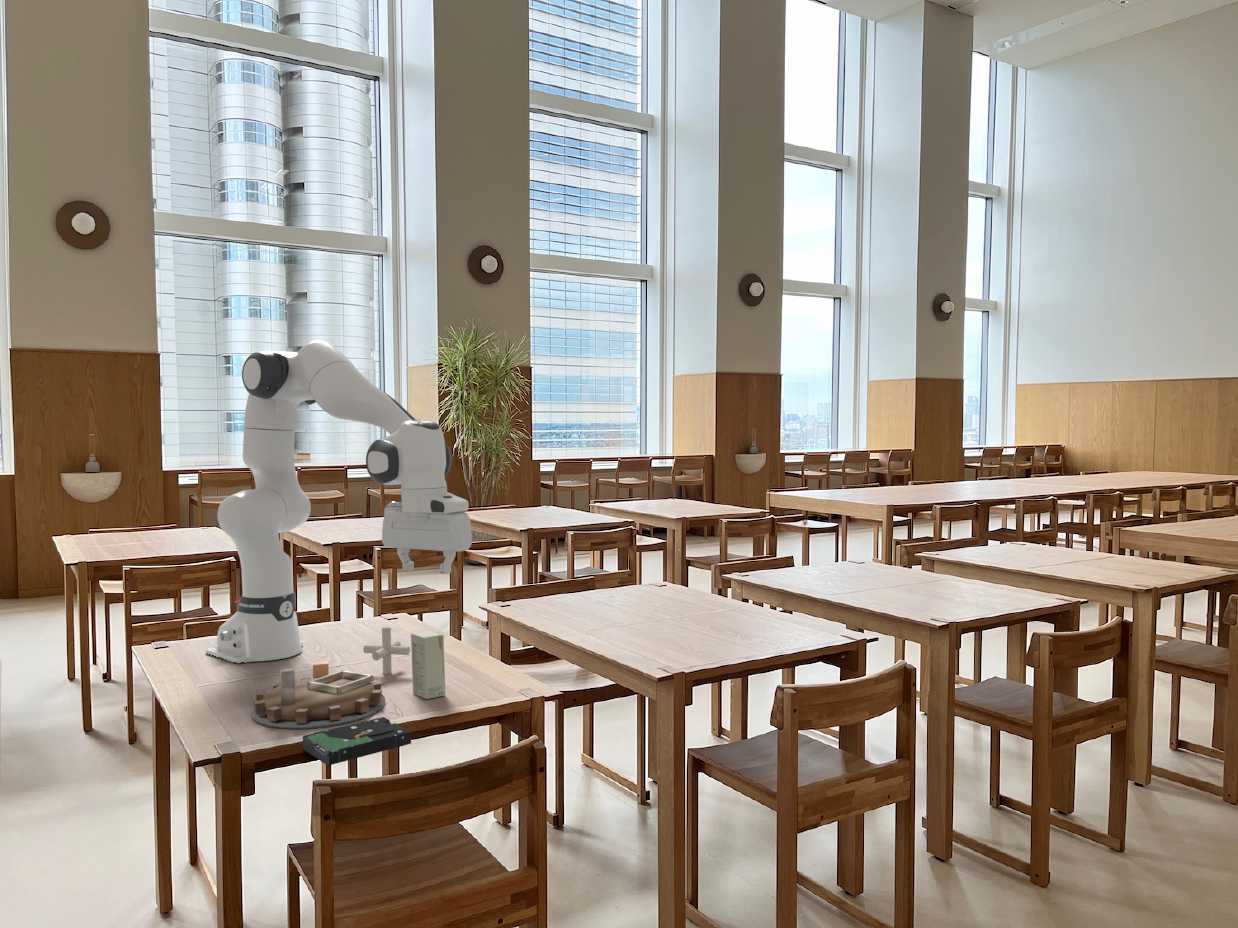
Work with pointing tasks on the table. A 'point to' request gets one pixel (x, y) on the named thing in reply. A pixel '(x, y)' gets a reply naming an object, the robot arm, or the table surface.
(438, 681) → the skincare box
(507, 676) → the table surface
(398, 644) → the pipe connector
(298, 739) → the table surface
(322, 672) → the orange rectangular block
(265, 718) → the dial base
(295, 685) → the dial
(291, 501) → the robot arm
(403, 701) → the table surface
